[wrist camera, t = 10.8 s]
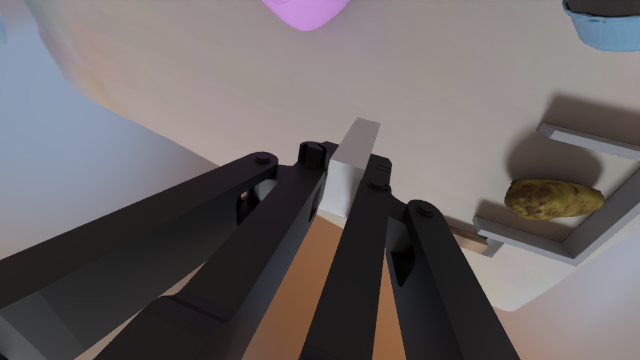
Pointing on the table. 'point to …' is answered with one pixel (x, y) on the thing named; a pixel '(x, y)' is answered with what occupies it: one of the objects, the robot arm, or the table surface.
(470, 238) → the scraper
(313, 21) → the teapot
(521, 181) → the potato
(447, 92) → the table surface
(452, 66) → the table surface
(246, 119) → the table surface
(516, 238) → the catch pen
